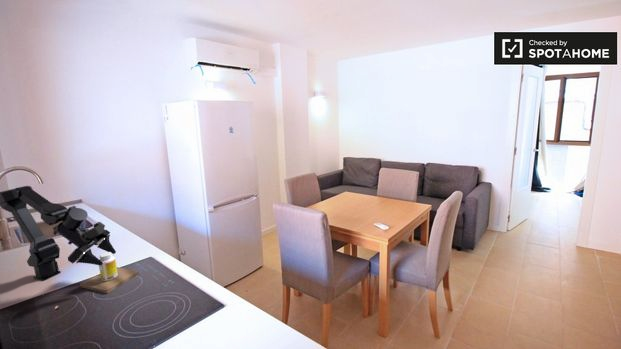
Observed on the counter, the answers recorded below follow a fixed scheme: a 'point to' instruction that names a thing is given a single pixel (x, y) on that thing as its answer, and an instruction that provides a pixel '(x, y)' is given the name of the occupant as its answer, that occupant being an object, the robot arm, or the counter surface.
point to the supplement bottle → (108, 266)
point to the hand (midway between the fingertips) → (108, 258)
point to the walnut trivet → (109, 281)
